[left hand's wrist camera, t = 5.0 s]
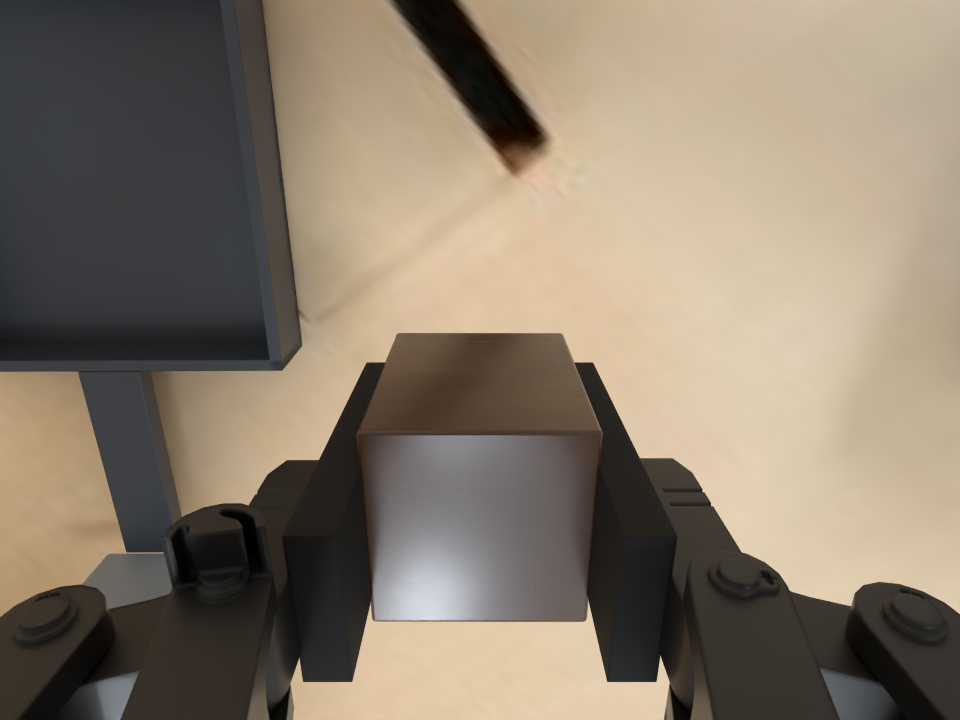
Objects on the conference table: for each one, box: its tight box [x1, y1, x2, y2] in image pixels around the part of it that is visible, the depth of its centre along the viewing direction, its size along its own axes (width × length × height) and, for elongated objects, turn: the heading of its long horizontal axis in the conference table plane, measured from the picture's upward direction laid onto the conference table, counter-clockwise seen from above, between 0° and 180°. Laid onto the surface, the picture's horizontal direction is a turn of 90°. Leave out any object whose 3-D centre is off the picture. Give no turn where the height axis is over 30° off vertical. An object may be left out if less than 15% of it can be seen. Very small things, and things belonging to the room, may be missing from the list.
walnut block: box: [356, 333, 603, 622], centre depth 13 cm, size 4×4×5 cm
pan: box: [0, 0, 302, 609], centre depth 27 cm, size 17×29×9 cm, turn 0°
